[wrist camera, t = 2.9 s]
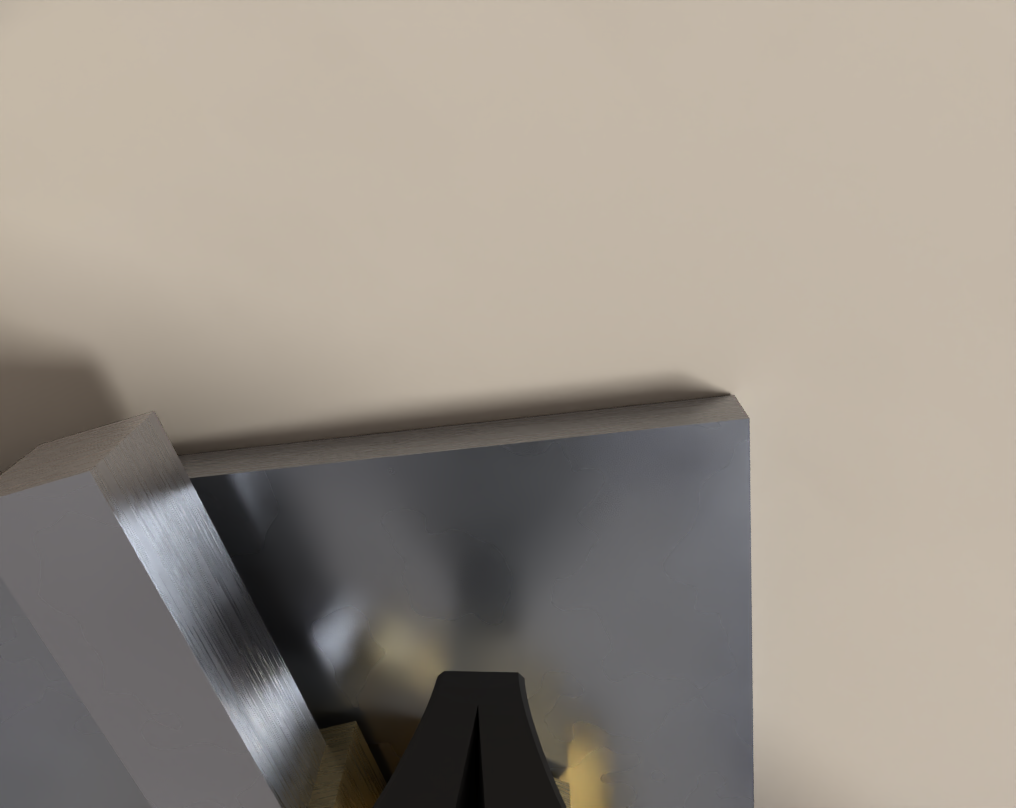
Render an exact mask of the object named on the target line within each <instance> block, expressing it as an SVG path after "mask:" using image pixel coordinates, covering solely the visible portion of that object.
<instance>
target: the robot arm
mask: <svg viewBox="0 0 1016 808" xmlns="http://www.w3.org/2000/svg"><path fill="white" fill-rule="evenodd" d="M372 808H567V807H566V805H565V803H564V801H563V798H562V796H561V794H560V792H559V789H558V787H557V785H556V782H555V780H554V777H553V775H552V772H551V770H550V767H549V765H548V762H547V760H546V757H545V754H544V752H543V749H542V746H541V743H540V741H539V738H538V735H537V731H536V728H535V725H534V722H533V718H532V715H531V711H530V707H529V703H528V699H527V693H526V687H525V678H524V677H523V676H522V675H521V674H519V673H518V672H478V671H443V672H442V673H441V674H440V675H438V676H437V679H436V683H435V686H434V689H433V692H432V694H431V697H430V700H429V702H428V705H427V707H426V709H425V712H424V714H423V716H422V718H421V720H420V722H419V725H418V727H417V729H416V731H415V733H414V735H413V737H412V739H411V741H410V743H409V745H408V747H407V748H406V750H405V752H404V754H403V756H402V758H401V760H400V762H399V764H398V765H397V767H396V769H395V771H394V773H393V774H392V776H391V778H390V780H389V781H388V783H387V785H386V786H385V788H384V789H383V791H382V793H381V794H380V796H379V798H378V799H377V801H376V802H375V804H374V806H373V807H372Z"/></svg>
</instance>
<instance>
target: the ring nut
mask: <svg viewBox="0 0 1016 808" xmlns="http://www.w3.org/2000/svg"><path fill="white" fill-rule="evenodd" d="M0 576H1V578H2V579H3V581H4V582H5V584H6V586H7V587H8V589H9V590H10V592H11V593H12V595H13V596H14V598H15V599H16V601H17V602H18V604H19V605H20V607H21V608H22V610H23V612H24V613H25V615H26V616H27V618H28V619H29V621H30V622H31V624H32V625H33V627H34V628H35V630H36V631H37V633H38V634H39V636H40V638H41V639H42V641H43V642H44V644H45V645H46V647H47V648H48V650H49V651H50V653H51V654H52V656H53V657H54V659H55V660H56V662H57V664H58V665H59V667H60V668H61V670H62V671H63V673H64V674H65V676H66V677H67V679H68V680H69V682H70V683H71V685H72V686H73V688H74V690H75V691H76V693H77V694H78V696H79V697H80V699H81V700H82V702H83V703H84V705H85V706H86V708H87V709H88V711H89V712H90V714H91V716H92V717H93V719H94V720H95V722H96V723H97V725H98V726H99V728H100V729H101V731H102V732H103V734H104V735H105V737H106V738H107V740H108V742H109V743H110V745H111V746H112V748H113V749H114V751H115V752H116V754H117V755H118V757H119V758H120V760H121V761H122V763H123V764H124V766H125V768H126V769H127V771H128V772H129V774H130V775H131V777H132V778H133V780H134V781H135V783H136V784H137V786H138V787H139V789H140V790H141V792H142V794H143V795H144V797H145V798H146V800H147V801H148V803H149V804H150V806H151V807H152V808H372V807H373V806H374V804H375V802H376V801H377V799H378V798H379V796H380V794H381V793H382V791H383V789H384V788H385V786H386V785H387V783H386V781H385V779H384V777H383V775H382V773H381V771H380V769H379V767H378V765H377V763H376V761H375V759H374V757H373V755H372V753H371V751H370V749H369V747H368V745H367V743H366V741H365V739H364V737H363V735H362V733H361V731H360V729H359V727H358V725H357V723H356V721H354V722H349V723H345V724H341V725H336V726H332V727H328V728H323V729H319V728H318V726H317V724H316V722H315V720H314V718H313V716H312V714H311V712H310V710H309V708H308V706H307V704H306V702H305V701H304V699H303V697H302V695H301V693H300V691H299V689H298V687H297V685H296V683H295V681H294V679H293V677H292V675H291V674H290V672H289V670H288V668H287V666H286V664H285V662H284V660H283V658H282V656H281V654H280V652H279V650H278V648H277V647H276V645H275V643H274V641H273V639H272V637H271V635H270V633H269V631H268V629H267V627H266V625H265V623H264V621H263V620H262V618H261V616H260V614H259V612H258V610H257V608H256V606H255V604H254V602H253V600H252V598H251V596H250V594H249V592H248V591H247V589H246V587H245V585H244V583H243V581H242V579H241V577H240V575H239V573H238V571H237V569H236V567H235V565H234V564H233V562H232V560H231V558H230V556H229V554H228V552H227V550H226V548H225V546H224V544H223V542H222V540H221V538H220V537H219V535H218V533H217V531H216V529H215V527H214V525H213V523H212V521H211V519H210V517H209V515H208V513H207V511H206V510H205V508H204V506H203V504H202V502H201V500H200V498H199V496H198V494H197V492H196V490H195V488H194V486H193V484H192V483H191V481H190V479H189V477H188V475H187V473H186V471H185V469H184V467H183V465H182V463H181V461H180V459H179V457H178V456H177V454H176V452H175V450H174V448H173V446H172V444H171V442H170V440H169V438H168V436H167V434H166V432H165V430H164V429H163V427H162V425H161V423H160V421H159V419H158V417H157V415H156V413H155V411H152V412H149V413H145V414H142V415H139V416H135V417H132V418H128V419H125V420H122V421H118V422H115V423H112V424H108V425H105V426H101V427H98V428H95V429H91V430H88V431H84V432H81V433H78V434H74V435H71V436H68V437H64V438H61V439H57V440H54V441H51V442H47V443H44V444H41V445H39V446H37V447H36V448H35V449H34V450H32V451H31V452H30V453H28V454H27V455H26V456H25V457H23V458H22V459H21V460H19V461H18V462H17V463H16V464H14V465H13V466H12V467H10V468H9V469H8V470H7V471H5V472H4V473H3V474H1V475H0ZM554 780H555V782H556V785H557V787H558V789H559V792H560V794H561V796H562V798H563V801H564V803H565V805H566V807H567V808H571V801H570V786H569V783H566V782H564V781H561V780H559V779H556V778H554Z"/></svg>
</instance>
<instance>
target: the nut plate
mask: <svg viewBox="0 0 1016 808" xmlns="http://www.w3.org/2000/svg"><path fill="white" fill-rule="evenodd" d="M178 457H179V459H180V461H181V463H182V465H183V467H184V469H185V471H186V473H187V475H188V477H189V479H190V481H191V483H192V484H193V486H194V488H195V490H196V492H197V494H198V496H199V498H200V500H201V502H202V504H203V506H204V508H205V510H206V511H207V513H208V515H209V517H210V519H211V521H212V523H213V525H214V527H215V529H216V531H217V533H218V535H219V537H220V538H221V540H222V542H223V544H224V546H225V548H226V550H227V552H228V554H229V556H230V558H231V560H232V562H233V564H234V565H235V567H236V569H237V571H238V573H239V575H240V577H241V579H242V581H243V583H244V585H245V587H246V589H247V591H248V592H249V594H250V596H251V598H252V600H253V602H254V604H255V606H256V608H257V610H258V612H259V614H260V616H261V618H262V620H263V621H264V623H265V625H266V627H267V629H268V631H269V633H270V635H271V637H272V639H273V641H274V643H275V645H276V647H277V648H278V650H279V652H280V654H281V656H282V658H283V660H284V662H285V664H286V666H287V668H288V670H289V672H290V674H291V675H292V677H293V679H294V681H295V683H296V685H297V687H298V689H299V691H300V693H301V695H302V697H303V699H304V701H305V702H306V704H307V706H308V708H309V710H310V712H311V714H312V716H313V718H314V720H315V722H316V724H317V726H318V728H319V729H323V728H328V727H332V726H336V725H341V724H345V723H349V722H354V721H356V723H357V725H358V727H359V729H360V731H361V733H362V735H363V737H364V739H365V741H366V743H367V745H368V747H369V749H370V751H371V753H372V755H373V757H374V759H375V761H376V763H377V765H378V767H379V769H380V771H381V773H382V775H383V777H384V779H385V781H386V783H388V781H389V780H390V778H391V776H392V774H393V773H394V771H395V769H396V767H397V765H398V764H399V762H400V760H401V758H402V756H403V754H404V752H405V750H406V748H407V747H408V745H409V743H410V741H411V739H412V737H413V735H414V733H415V731H416V729H417V727H418V725H419V722H420V720H421V718H422V716H423V714H424V712H425V709H426V707H427V705H428V702H429V700H430V697H431V694H432V692H433V689H434V686H435V683H436V679H437V676H438V675H440V674H441V673H442V672H443V671H478V672H518V673H519V674H521V675H522V676H523V677H524V678H525V687H526V693H527V699H528V703H529V707H530V711H531V715H532V718H533V722H534V725H535V728H536V731H537V735H538V738H539V741H540V743H541V746H542V749H543V752H544V754H545V757H546V760H547V762H548V765H549V767H550V770H551V772H552V775H553V777H554V778H556V779H559V780H561V781H564V782H566V783H569V786H570V801H571V808H754V780H753V691H752V603H751V514H750V425H749V417H748V415H747V414H746V412H745V411H744V409H743V408H742V406H741V405H740V403H739V402H738V400H737V398H736V397H735V395H729V396H720V397H711V398H701V399H692V400H683V401H674V402H665V403H655V404H646V405H637V406H628V407H619V408H610V409H600V410H591V411H582V412H573V413H564V414H554V415H545V416H536V417H527V418H518V419H509V420H499V421H490V422H481V423H472V424H463V425H454V426H444V427H435V428H426V429H417V430H408V431H398V432H389V433H380V434H371V435H362V436H353V437H343V438H334V439H325V440H316V441H307V442H297V443H288V444H279V445H270V446H261V447H252V448H242V449H233V450H224V451H215V452H206V453H197V454H187V455H178ZM0 808H152V807H151V806H150V804H149V803H148V801H147V800H146V798H145V797H144V795H143V794H142V792H141V790H140V789H139V787H138V786H137V784H136V783H135V781H134V780H133V778H132V777H131V775H130V774H129V772H128V771H127V769H126V768H125V766H124V764H123V763H122V761H121V760H120V758H119V757H118V755H117V754H116V752H115V751H114V749H113V748H112V746H111V745H110V743H109V742H108V740H107V738H106V737H105V735H104V734H103V732H102V731H101V729H100V728H99V726H98V725H97V723H96V722H95V720H94V719H93V717H92V716H91V714H90V712H89V711H88V709H87V708H86V706H85V705H84V703H83V702H82V700H81V699H80V697H79V696H78V694H77V693H76V691H75V690H74V688H73V686H72V685H71V683H70V682H69V680H68V679H67V677H66V676H65V674H64V673H63V671H62V670H61V668H60V667H59V665H58V664H57V662H56V660H55V659H54V657H53V656H52V654H51V653H50V651H49V650H48V648H47V647H46V645H45V644H44V642H43V641H42V639H41V638H40V636H39V634H38V633H37V631H36V630H35V628H34V627H33V625H32V624H31V622H30V621H29V619H28V618H27V616H26V615H25V613H24V612H23V610H22V608H21V607H20V605H19V604H18V602H17V601H16V599H15V598H14V596H13V595H12V593H11V592H10V590H9V589H8V587H7V586H6V584H5V582H4V581H3V579H2V578H1V576H0Z"/></svg>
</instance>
